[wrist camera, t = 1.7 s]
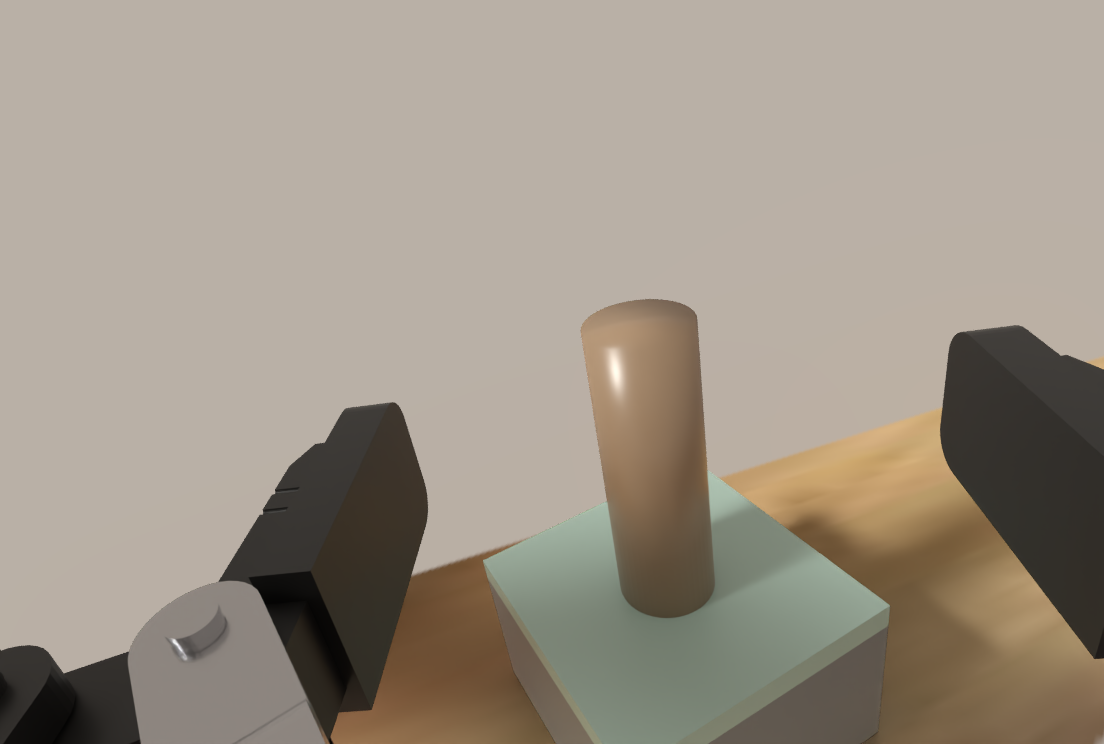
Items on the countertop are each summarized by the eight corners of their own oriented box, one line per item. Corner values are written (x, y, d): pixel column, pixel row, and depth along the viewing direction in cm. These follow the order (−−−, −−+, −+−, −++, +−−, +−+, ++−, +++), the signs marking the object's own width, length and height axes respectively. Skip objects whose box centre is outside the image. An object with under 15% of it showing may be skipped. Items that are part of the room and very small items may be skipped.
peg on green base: (630, 815, 22) (568, 479, 16) (492, 594, 31) (418, 325, 24) (886, 645, 25) (917, 319, 19) (696, 492, 34) (676, 237, 28)
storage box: (646, 898, 24) (627, 796, 21) (513, 671, 33) (487, 577, 30) (878, 731, 28) (888, 625, 25) (702, 567, 37) (694, 476, 34)
